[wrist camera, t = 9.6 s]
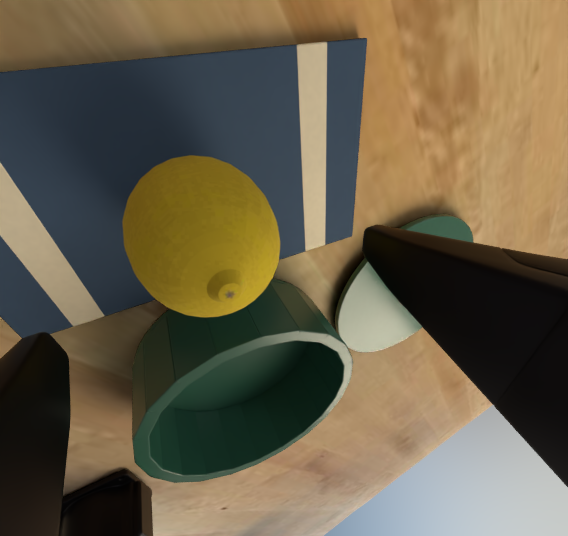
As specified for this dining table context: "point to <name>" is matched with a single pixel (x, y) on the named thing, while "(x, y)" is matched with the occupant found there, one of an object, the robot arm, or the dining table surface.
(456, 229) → the pot lid
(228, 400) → the pot
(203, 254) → the lemon
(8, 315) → the towel
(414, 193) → the dining table surface
